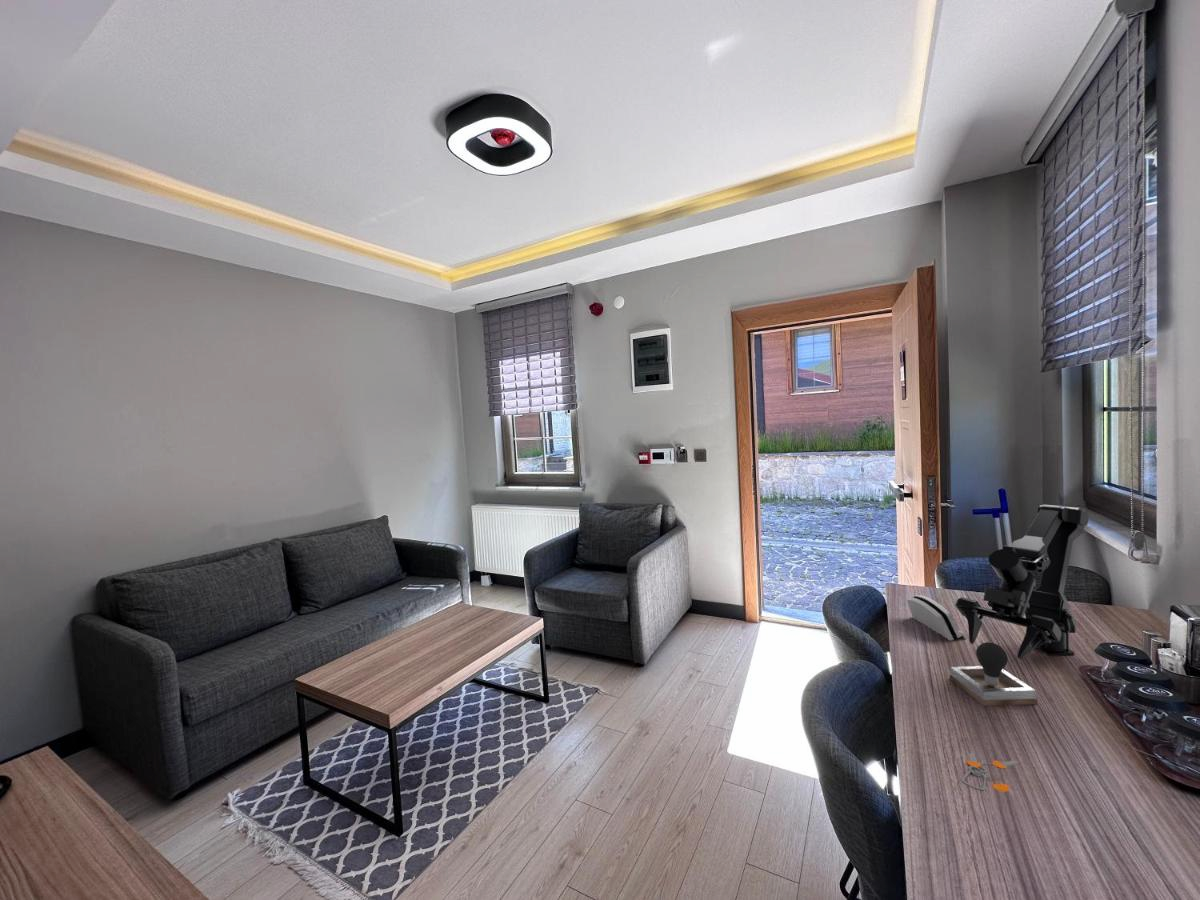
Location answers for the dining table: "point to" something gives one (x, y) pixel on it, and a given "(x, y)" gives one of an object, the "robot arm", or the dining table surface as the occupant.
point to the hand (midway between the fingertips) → (994, 650)
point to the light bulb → (991, 661)
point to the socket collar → (1014, 693)
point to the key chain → (977, 765)
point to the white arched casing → (934, 616)
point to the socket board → (1000, 685)
